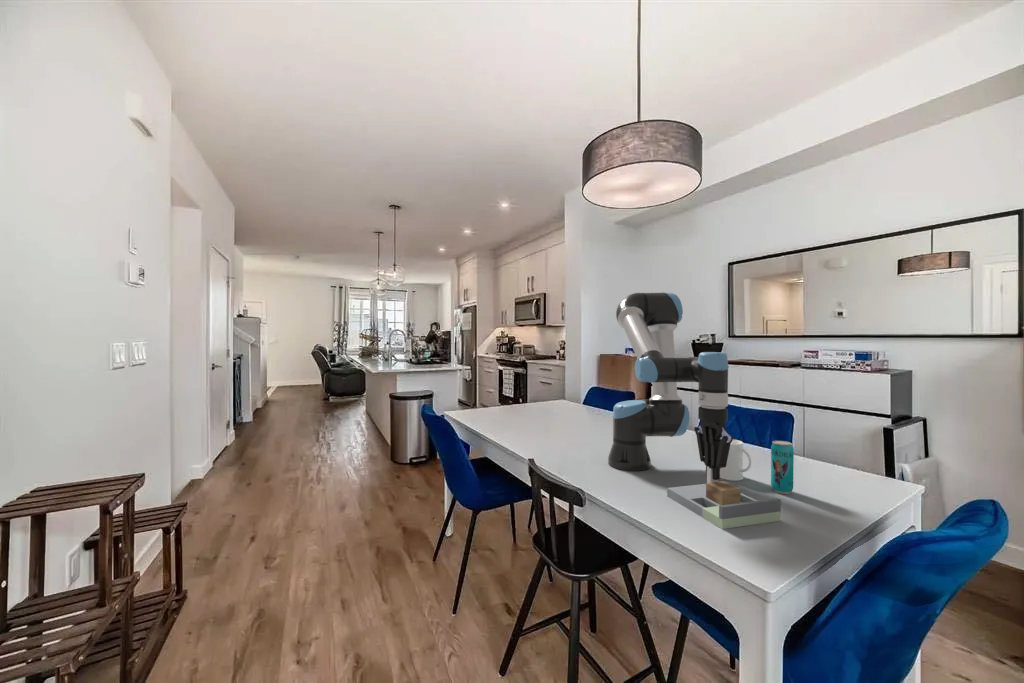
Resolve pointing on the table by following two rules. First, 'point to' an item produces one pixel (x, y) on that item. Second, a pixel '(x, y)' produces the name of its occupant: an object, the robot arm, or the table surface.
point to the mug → (735, 462)
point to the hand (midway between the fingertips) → (712, 489)
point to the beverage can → (782, 467)
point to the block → (723, 493)
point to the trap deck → (726, 507)
